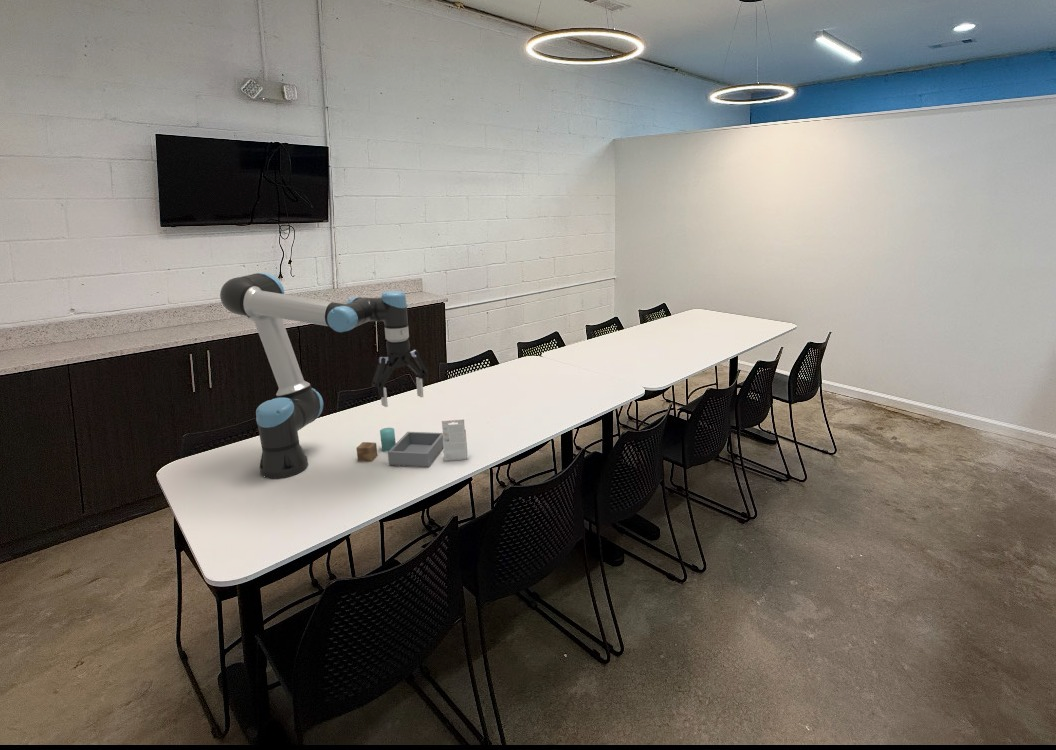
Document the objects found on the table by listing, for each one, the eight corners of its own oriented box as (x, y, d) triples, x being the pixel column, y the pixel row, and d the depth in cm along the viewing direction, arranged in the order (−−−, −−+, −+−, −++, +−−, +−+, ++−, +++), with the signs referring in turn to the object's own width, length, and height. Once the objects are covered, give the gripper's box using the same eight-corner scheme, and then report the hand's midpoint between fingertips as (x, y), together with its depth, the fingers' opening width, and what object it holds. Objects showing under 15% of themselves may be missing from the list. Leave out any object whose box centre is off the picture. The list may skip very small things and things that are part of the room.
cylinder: (379, 450, 210) (377, 432, 208) (385, 445, 214) (383, 427, 212) (392, 451, 209) (390, 433, 207) (398, 445, 214) (396, 427, 212)
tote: (389, 465, 197) (387, 452, 196) (408, 444, 214) (407, 431, 213) (428, 467, 195) (427, 453, 194) (445, 445, 212) (444, 433, 210)
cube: (358, 461, 202) (356, 447, 201) (364, 455, 207) (362, 442, 205) (371, 461, 201) (370, 448, 200) (377, 455, 206) (376, 442, 204)
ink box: (444, 457, 203) (441, 417, 198) (467, 455, 203) (464, 415, 199) (444, 461, 199) (440, 421, 195) (467, 459, 200) (464, 419, 196)
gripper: (367, 348, 180) (374, 412, 186) (436, 334, 196) (440, 394, 202) (356, 344, 185) (363, 407, 191) (424, 331, 201) (428, 390, 207)
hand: (403, 401), depth 197 cm, fingers open, 13 cm apart
